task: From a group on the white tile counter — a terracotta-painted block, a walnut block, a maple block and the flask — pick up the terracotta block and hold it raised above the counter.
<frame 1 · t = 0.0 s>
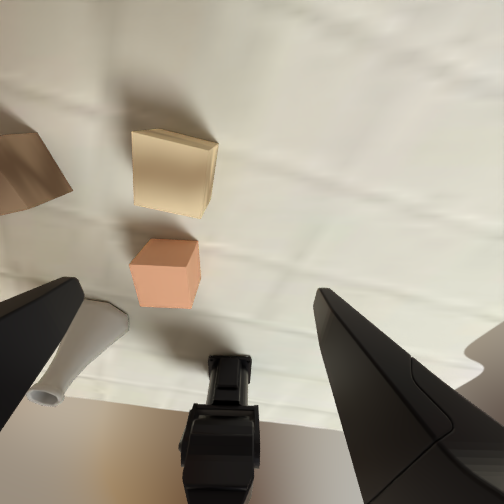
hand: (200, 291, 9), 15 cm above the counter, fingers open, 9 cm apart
maple block: (186, 166, 20), on the counter
flask: (103, 317, 30), on the counter
terracotta block: (177, 259, 25), on the counter
walnut block: (32, 169, 21), on the counter
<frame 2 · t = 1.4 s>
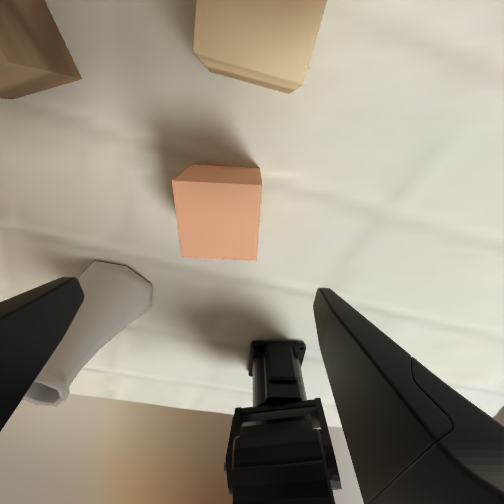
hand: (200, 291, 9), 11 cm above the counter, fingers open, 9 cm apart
maple block: (259, 30, 13), on the counter
flask: (119, 288, 23), on the counter
terracotta block: (226, 198, 18), on the counter
walnut block: (19, 37, 13), on the counter
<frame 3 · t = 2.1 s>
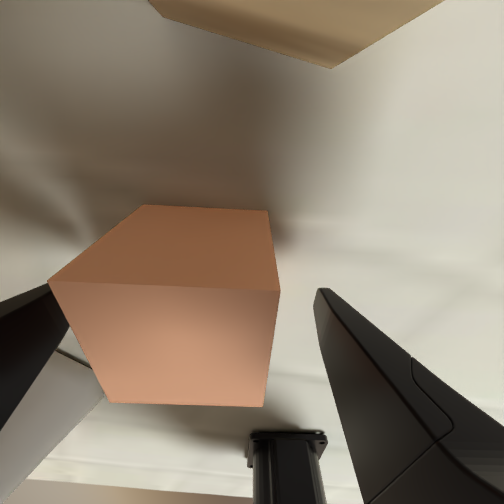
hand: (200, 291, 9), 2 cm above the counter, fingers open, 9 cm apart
flask: (53, 374, 15), on the counter
terracotta block: (208, 258, 10), on the counter
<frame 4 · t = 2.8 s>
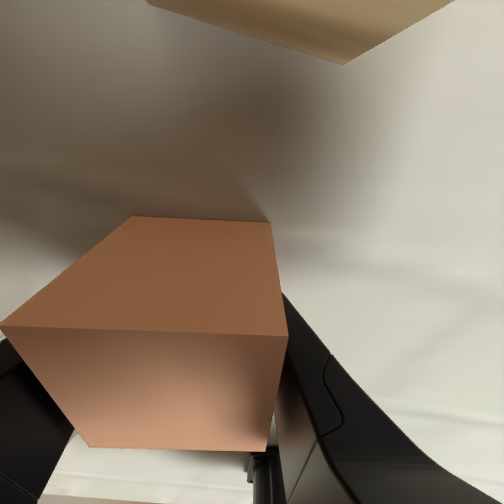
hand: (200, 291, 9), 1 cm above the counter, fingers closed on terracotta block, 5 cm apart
terracotta block: (205, 274, 10), on the counter, touching gripper
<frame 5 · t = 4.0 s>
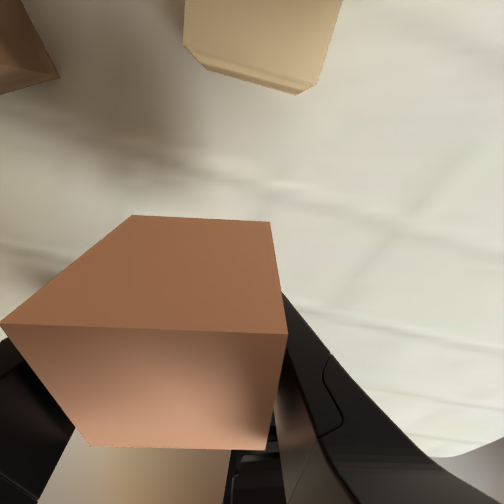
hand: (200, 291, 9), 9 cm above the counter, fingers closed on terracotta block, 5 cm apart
maple block: (263, 22, 11), on the counter
terracotta block: (204, 274, 10), point 8 cm above the counter, touching gripper
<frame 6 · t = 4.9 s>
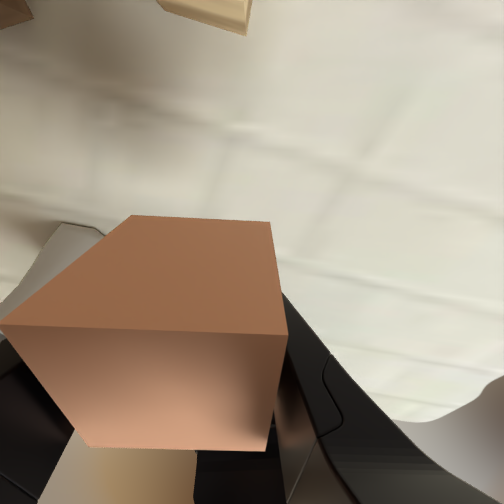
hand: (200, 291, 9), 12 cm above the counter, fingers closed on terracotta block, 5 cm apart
flask: (90, 255, 23), on the counter
terracotta block: (204, 274, 9), point 11 cm above the counter, touching gripper
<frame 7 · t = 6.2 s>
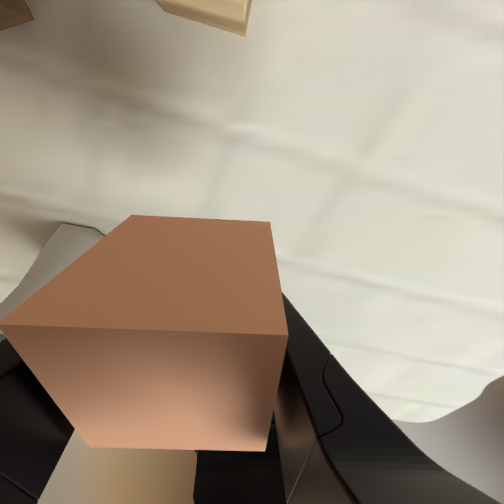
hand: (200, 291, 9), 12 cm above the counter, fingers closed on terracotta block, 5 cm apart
flask: (90, 255, 23), on the counter
terracotta block: (204, 274, 9), point 11 cm above the counter, touching gripper
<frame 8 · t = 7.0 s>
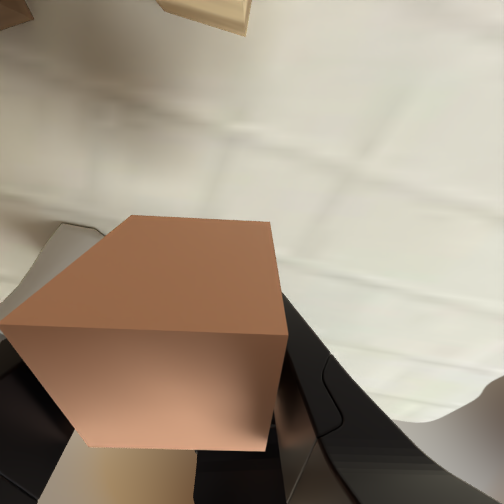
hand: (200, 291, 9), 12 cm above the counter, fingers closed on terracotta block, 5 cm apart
flask: (90, 255, 23), on the counter
terracotta block: (204, 274, 9), point 11 cm above the counter, touching gripper
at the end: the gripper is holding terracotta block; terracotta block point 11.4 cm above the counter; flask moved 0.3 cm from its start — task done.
